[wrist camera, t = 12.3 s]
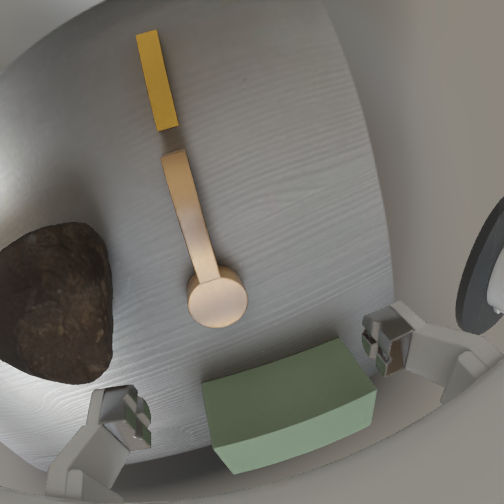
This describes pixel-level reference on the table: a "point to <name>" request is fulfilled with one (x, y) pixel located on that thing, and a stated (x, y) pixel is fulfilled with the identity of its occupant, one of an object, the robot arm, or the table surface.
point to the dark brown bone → (57, 304)
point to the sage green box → (288, 406)
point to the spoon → (202, 253)
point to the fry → (156, 80)
